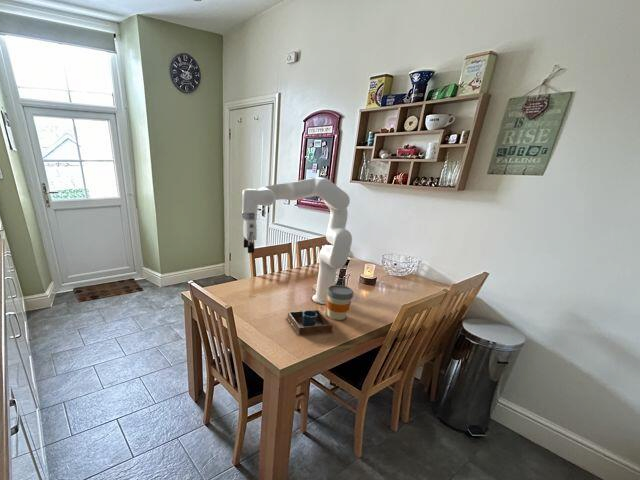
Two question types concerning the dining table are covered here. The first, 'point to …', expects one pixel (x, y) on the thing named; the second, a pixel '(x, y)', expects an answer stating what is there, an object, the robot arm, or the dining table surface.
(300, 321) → the dark wooden tray
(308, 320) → the dark blue cup
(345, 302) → the reusable coffee cup
